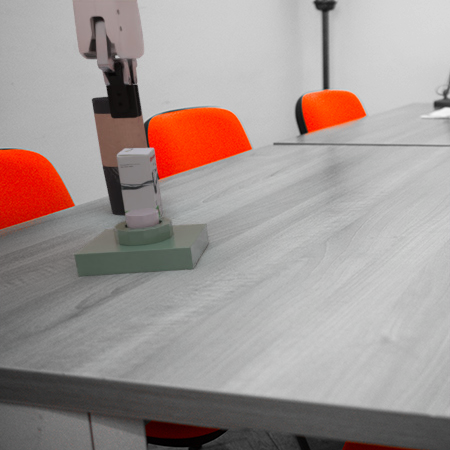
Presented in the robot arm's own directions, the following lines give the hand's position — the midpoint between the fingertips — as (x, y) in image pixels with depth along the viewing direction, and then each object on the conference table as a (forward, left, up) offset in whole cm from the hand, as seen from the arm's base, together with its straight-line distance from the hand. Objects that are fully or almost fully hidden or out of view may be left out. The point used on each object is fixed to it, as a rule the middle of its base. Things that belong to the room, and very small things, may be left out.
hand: (126, 116), depth 72 cm
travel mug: (-26, +15, -19) cm, 36 cm away
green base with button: (0, 0, -19) cm, 19 cm away
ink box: (-18, +12, -19) cm, 29 cm away
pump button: (0, 0, -15) cm, 15 cm away
